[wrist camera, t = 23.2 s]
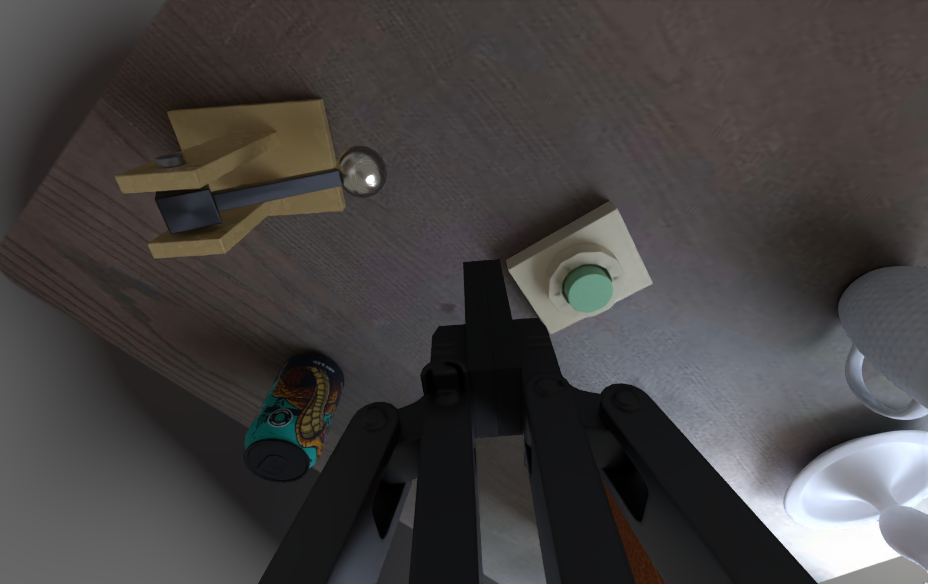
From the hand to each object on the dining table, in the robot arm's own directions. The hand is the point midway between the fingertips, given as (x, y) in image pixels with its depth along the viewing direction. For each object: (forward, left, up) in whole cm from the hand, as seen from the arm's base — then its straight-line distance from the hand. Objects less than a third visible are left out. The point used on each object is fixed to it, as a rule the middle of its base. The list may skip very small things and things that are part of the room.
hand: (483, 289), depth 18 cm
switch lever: (+11, -8, -14) cm, 20 cm away
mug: (-28, +35, -22) cm, 50 cm away
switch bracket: (+14, -10, -22) cm, 28 cm away
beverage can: (+27, +10, -22) cm, 37 cm away
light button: (-4, +14, -18) cm, 23 cm away
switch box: (-4, +14, -22) cm, 26 cm away
